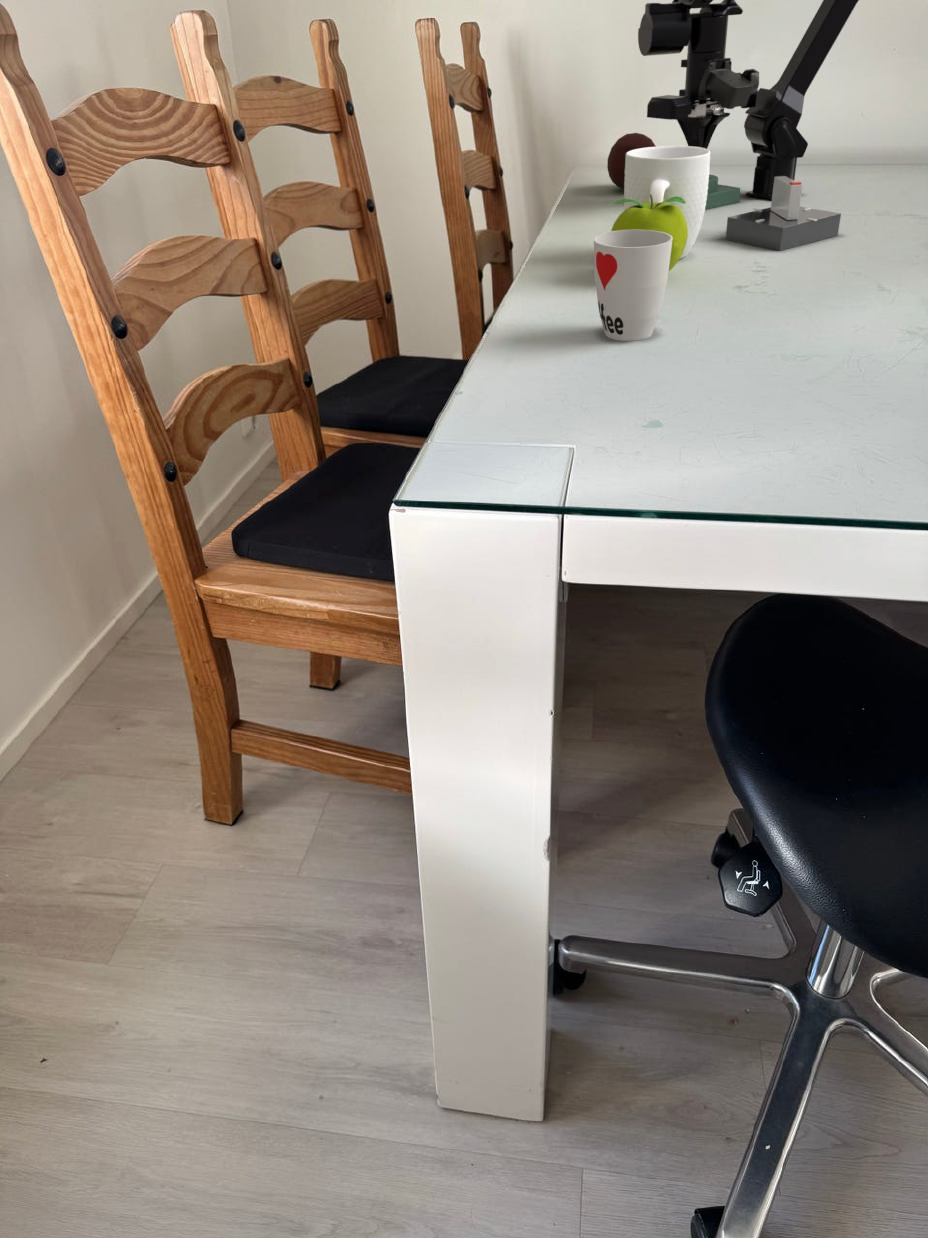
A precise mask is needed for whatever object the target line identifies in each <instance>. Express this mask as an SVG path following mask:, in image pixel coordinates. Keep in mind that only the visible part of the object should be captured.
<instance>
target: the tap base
mask: <svg viewBox="0 0 928 1238" xmlns="http://www.w3.org/2000/svg"><path fill="white" fill-rule="evenodd" d="M841 217H842V213H840V212H835V211H830V210H829V211H828V210H823V209H817V208H812V207H806V206H805V207H804V206H800V208H799V216H798V219H797V220H786V219H784V218H783V217H781V216H779V215H778V214H776V213H774V212H773V211H771V206H770V207H767V208H762V209H760V208H752V211H749V212H744V213H740V214H735V215H731V216H727V219H726V230H725V239H726V241H727V240H728V241H733V242H738V243H741V244H747V245H751V246H756V247H761V248H765V249H769V250H775V251H778V252H779V251H780V252H781V251H784V250H787V249H792V248H795V247H800V246H803V245H808V244H811V243H815V242H819V241H822V240H826V239H831V238H834V237H838V236H839V230H840V224H841Z"/></svg>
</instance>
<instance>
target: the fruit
mask: <svg viewBox="0 0 928 1238" xmlns="http://www.w3.org/2000/svg"><path fill="white" fill-rule="evenodd" d="M650 198H651V202H646V203H643V204H640V203H639V202H637V201H634V200H631V199H624V198H623V199H619V200H616V201H614V202H612V205H618V204H623V203H624V204H625V202H632V203H635V204H637V205H636V206H632V207H630V208H628V209H626V210H625V209H624V210H623V211H622V212H621V213H620V214H619V215H618V216H617V218H616V219H615V221H614V222H613V224H612V228H611V230H610V232H612V231H619V230H652V231H659V232H664V233H667V234H669V235H671V236H672V237H673V240H672V248H671V256H670V264H669V272H670V271H671V270H672V269H673V268H674V267H675V266H676V264H677V263H678V262H679V260H681V259H680V257H681V255H682V253H683V251H684V249H685V246H686V243H687V237H688V229H687V223H686V220H685V217H684V215H683V213H682V212H681V210H680V209H679V208H678V207H677V206H675V205H671V204H669V203H666V202H679V203H683V204H685V201H684V200H683V199H682V198H681V197H672V198H670V199H668V200H665V201H663V202H661V203H654V202H653V198H652V194H650Z"/></svg>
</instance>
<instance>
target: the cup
mask: <svg viewBox="0 0 928 1238" xmlns="http://www.w3.org/2000/svg"><path fill="white" fill-rule="evenodd" d="M611 231H612V230H611ZM611 231H606V232H603V233H600V234H597V235H596V236H594V238H593V263H594V264H593V265H594V267H593V268H594V284H595V285H594V286H595V290H596V299H597V305H598V312H599V313H598V314H599V317H600V321H601V324H602V327H603V331H604V335H605V336H606V338H608V339H611V340H614V341H621V342H635V341H636V342H637V341H643V340H646V339H648V338H650V337H652V335H653V332H654V330H655V327H656V325H657V322H658V318H659V316H660V313H661V310H662V306H663V302H664V301H663V300H664V297H665V292H666V289H667V284H668V280H669V279H668V278H669V272H670V271H669V264H670V256H671V248H672V240H673V237H672V236H671V235H669V234H667V233H664V232H659V231H652V230H619V231H612V232H611Z"/></svg>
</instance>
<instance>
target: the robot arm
mask: <svg viewBox="0 0 928 1238" xmlns="http://www.w3.org/2000/svg"><path fill="white" fill-rule="evenodd" d="M713 1H714V0H672V2H669V3H660V2H647V3H645V6H644V13H643V15H642V17H641V20H640V23H639V28H638V29H637V30H638V31H637V42H638V49H639V52H640V54H641V55H642V56H643V57H649V56H662V55H663V56H664V55H675V54H680V53H682V52H683V50H684V48H685V47H687V53H686V54H687V55H686V59H681V60H680V68H685V81H684V82H685V84H684V89H679V91H678V95H674V94H666V95H659V96H652V97H651V98H650V100H649V101H648V103H647V109H646V118H648V119H649V118H650V119H660V120H669V121H671V120H672V121H673V120H675V121H676V122H677V123H678V125H679V128H680V129H681V131H682V133H683V136H684V139H685V141H686V144H687V146H693V147H701V148H705V149H708V148H709V145H710V143H711V140H712V138H713V135H714V133H715V131H716V128H717V127H718V125H719V124H721V123H722V122H723V120H724V119H725V118H728V117H729V116H730V115H731V112H725V109H727V110H733V109H734V108H737V107H738V108H739V107H740V108H741V109H747V110H746V111H745V114H746V115H747V116H746V118H745V121H744V124H743V128H744V134H745V137H746V138H747V140H748V141H749V142H750V145H751V150H752V153H753V154H759V155H757V156H756V165H755V167H754V172H753V182H752V190H748V191H746V192H745V196H749V197H756V198H761V199H766V200H772V194H773V186H774V177H778V176H786V177H788V178H790V179H792V180H794V181H795V178H796V170H797V163H798V159H800V158H804V155H805V153H806V151H807V148H808V147H809V143H808V141H807V140H806V139H805V137H804V136H803V135H802V133H801V132H800V131H799V130H798V126H799V123H800V122H801V121H800V120H801V118H802V115H803V109H804V101H805V96H806V94H807V91H808V90H809V88H810V86H811V85H812V84H813V81H814V80H815V78H816V76H817V74H818V72H819V71H820V69H821V67H822V66H823V64H824V62H825V60H826V58H827V56H828V54H829V53H830V51H831V49H832V48H833V46H834V45H835V42H836V41H837V39H838V37H839V36H840V34H841V32H842V30H843V28H844V27H845V25H846V23H847V22H848V20H849V18H850V16H851V15H852V12H853V11H854V9H855V8H856V5H857V4H858V2H859V1H860V0H822V2H821V3H820V6H819V7H818V9H817V11H816V13H815V15H814V16H813V18H812V20H811V22H810V23H809V25H808V27H807V28H806V31H805V32H804V34H803V36H802V38H801V40H800V41H799V43H798V45H797V46H796V49H795V50H794V52H793V54H792V56H791V58H790V60H789V61H788V63H787V64H786V67H785V68H784V70H783V72H782V73H781V76H780V78H778V81H777V82H776V83H775V84H774V85H773V86H772V87H771V88H763V87H760V88H759V86H760V72H759V71H758V70H756V69H755V68H749V69H744V71H743V72H735V71H733V70H732V63H733V62H732V60H731V59H732V58H731V57H726V49H727V38H728V37H727V36H728V28H729V27H728V26H729V25H728V24H729V16H740V15H742V14H743V12H744V10H743V8H742V7H741V6H740V5H739V4H738V3H737V2H736V0H722V1H721V2H720V3H719V2H716V3H715V2H714V3H712V2H713ZM692 9H693V10H694V9H700V10H699V12H691V10H692Z"/></svg>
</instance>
